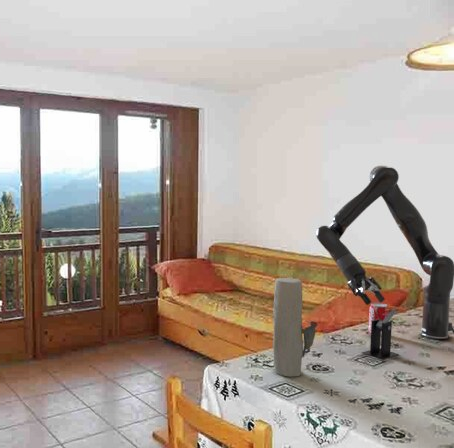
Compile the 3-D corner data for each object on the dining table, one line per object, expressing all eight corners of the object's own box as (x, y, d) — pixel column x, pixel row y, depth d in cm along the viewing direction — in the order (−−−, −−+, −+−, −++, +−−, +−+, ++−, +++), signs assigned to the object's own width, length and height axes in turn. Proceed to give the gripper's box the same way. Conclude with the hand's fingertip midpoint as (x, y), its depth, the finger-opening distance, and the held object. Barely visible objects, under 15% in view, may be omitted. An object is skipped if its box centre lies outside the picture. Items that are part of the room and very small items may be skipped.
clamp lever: (388, 308, 183) (387, 303, 182) (407, 312, 177) (405, 307, 176) (371, 328, 178) (369, 323, 177) (389, 333, 172) (387, 328, 171)
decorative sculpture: (316, 370, 161) (319, 279, 159) (315, 381, 152) (318, 284, 150) (272, 365, 165) (275, 276, 163) (269, 375, 156) (272, 281, 154)
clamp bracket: (377, 351, 182) (379, 316, 181) (398, 357, 175) (400, 321, 174) (361, 355, 176) (362, 320, 175) (382, 362, 170) (383, 325, 169)
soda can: (383, 334, 204) (385, 302, 203) (390, 339, 196) (391, 306, 195) (365, 333, 204) (367, 302, 203) (371, 338, 197) (373, 306, 196)
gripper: (345, 263, 189) (371, 298, 180) (368, 260, 197) (394, 294, 188) (333, 274, 194) (358, 310, 185) (355, 272, 202) (380, 305, 193)
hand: (376, 302), depth 186 cm, fingers open, 8 cm apart
